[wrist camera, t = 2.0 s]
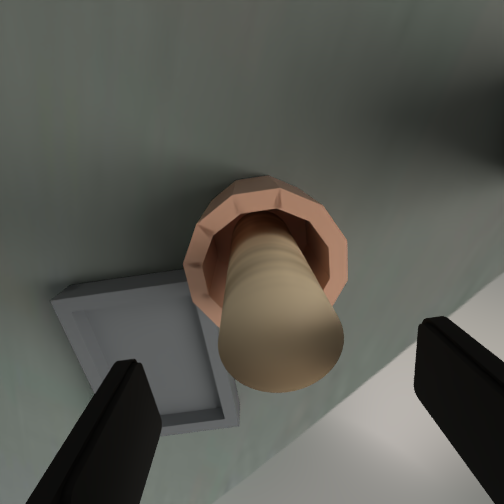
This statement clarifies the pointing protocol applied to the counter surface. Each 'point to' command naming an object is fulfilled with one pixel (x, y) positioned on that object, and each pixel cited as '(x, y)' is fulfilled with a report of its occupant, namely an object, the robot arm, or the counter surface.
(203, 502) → the counter surface
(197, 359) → the tray
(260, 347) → the peg
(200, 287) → the cup
